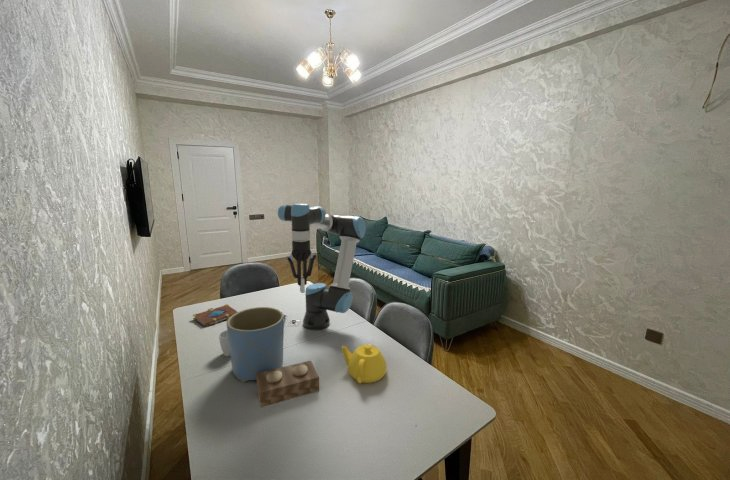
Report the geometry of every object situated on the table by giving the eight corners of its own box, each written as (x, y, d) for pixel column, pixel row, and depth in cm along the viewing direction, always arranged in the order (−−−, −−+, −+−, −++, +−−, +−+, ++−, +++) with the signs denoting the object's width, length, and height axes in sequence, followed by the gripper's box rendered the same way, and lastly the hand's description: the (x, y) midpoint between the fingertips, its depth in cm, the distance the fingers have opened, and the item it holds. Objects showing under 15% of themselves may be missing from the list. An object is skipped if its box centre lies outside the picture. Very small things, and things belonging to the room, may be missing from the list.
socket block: (311, 373, 130) (310, 360, 129) (319, 390, 120) (319, 377, 119) (257, 386, 121) (256, 373, 120) (260, 407, 110) (260, 392, 109)
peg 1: (281, 385, 122) (280, 369, 121) (284, 394, 117) (283, 377, 115) (266, 389, 120) (265, 372, 118) (268, 398, 114) (267, 381, 113)
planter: (232, 391, 118) (228, 336, 114) (228, 360, 138) (224, 312, 133) (290, 375, 129) (289, 324, 124) (279, 348, 148) (277, 303, 144)
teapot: (390, 366, 136) (391, 340, 134) (378, 393, 119) (379, 364, 116) (348, 357, 143) (349, 332, 140) (331, 381, 125) (331, 353, 123)
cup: (232, 359, 139) (230, 339, 137) (216, 356, 141) (214, 337, 139) (242, 349, 147) (241, 330, 145) (227, 347, 148) (226, 328, 146)
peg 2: (305, 378, 126) (305, 363, 125) (309, 387, 121) (309, 371, 120) (291, 382, 124) (291, 366, 122) (294, 391, 119) (294, 374, 117)
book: (246, 315, 186) (245, 308, 185) (204, 330, 167) (203, 322, 166) (233, 306, 196) (232, 299, 195) (191, 319, 177) (191, 311, 176)
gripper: (313, 237, 137) (314, 287, 141) (283, 239, 131) (285, 291, 136) (318, 240, 130) (319, 292, 135) (287, 242, 124) (289, 297, 129)
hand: (302, 291), depth 135 cm, fingers closed
